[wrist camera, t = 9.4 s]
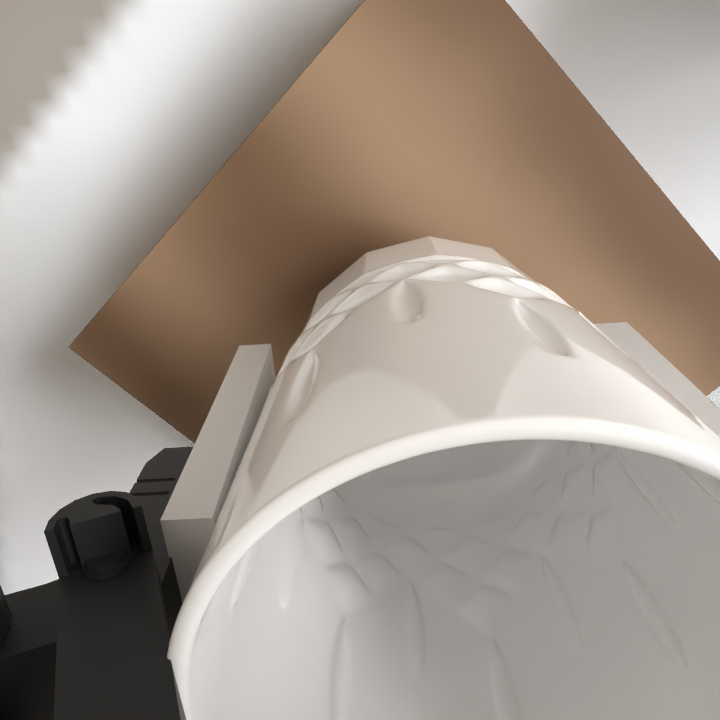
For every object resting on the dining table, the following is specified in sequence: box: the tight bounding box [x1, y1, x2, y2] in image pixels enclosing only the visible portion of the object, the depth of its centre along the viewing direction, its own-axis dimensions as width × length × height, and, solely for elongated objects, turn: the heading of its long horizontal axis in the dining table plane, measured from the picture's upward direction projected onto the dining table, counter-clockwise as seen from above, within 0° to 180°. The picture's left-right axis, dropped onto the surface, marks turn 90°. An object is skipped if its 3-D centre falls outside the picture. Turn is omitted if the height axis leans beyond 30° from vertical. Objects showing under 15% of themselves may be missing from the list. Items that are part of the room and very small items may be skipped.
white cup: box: [167, 236, 720, 720], centre depth 12 cm, size 8×8×10 cm
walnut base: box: [69, 0, 720, 443], centre depth 20 cm, size 14×14×4 cm
